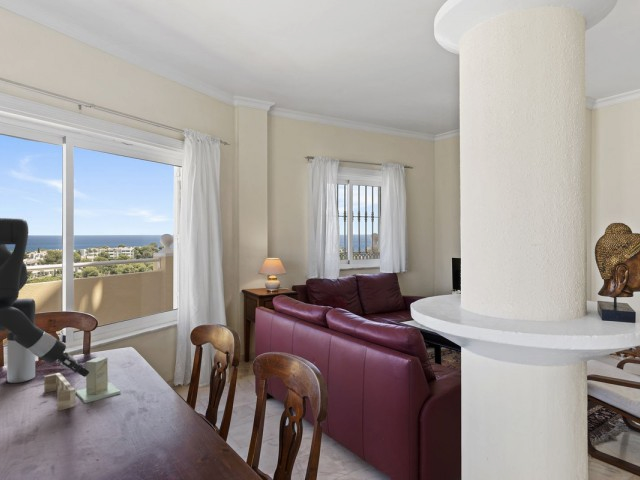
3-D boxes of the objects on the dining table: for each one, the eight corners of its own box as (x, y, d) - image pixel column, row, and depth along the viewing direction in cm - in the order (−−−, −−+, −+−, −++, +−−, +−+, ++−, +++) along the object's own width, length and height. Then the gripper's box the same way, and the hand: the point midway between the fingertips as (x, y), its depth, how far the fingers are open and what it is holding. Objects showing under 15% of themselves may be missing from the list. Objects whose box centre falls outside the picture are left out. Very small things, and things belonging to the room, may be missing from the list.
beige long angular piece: (44, 391, 149) (44, 375, 149) (59, 387, 153) (59, 372, 153) (58, 410, 134) (58, 393, 134) (75, 406, 137) (75, 389, 137)
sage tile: (75, 393, 148) (75, 390, 148) (109, 384, 157) (109, 382, 156) (84, 403, 140) (84, 400, 140) (120, 393, 148) (120, 390, 148)
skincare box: (95, 395, 144) (95, 362, 144) (85, 394, 145) (85, 361, 145) (108, 388, 150) (108, 357, 150) (98, 387, 151) (98, 356, 151)
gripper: (60, 342, 133) (97, 367, 141) (50, 334, 143) (86, 358, 151) (41, 361, 129) (81, 386, 138) (33, 351, 139) (70, 375, 148)
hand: (83, 371), depth 145 cm, fingers open, 8 cm apart
